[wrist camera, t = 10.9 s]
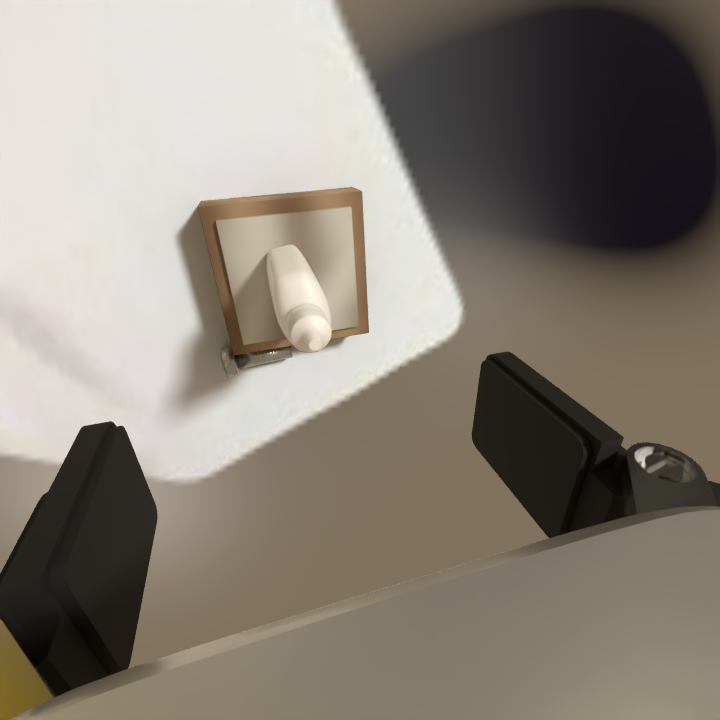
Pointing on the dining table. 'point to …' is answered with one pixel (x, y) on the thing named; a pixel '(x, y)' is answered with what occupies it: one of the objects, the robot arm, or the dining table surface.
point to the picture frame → (276, 229)
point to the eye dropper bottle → (298, 299)
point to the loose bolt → (251, 359)
